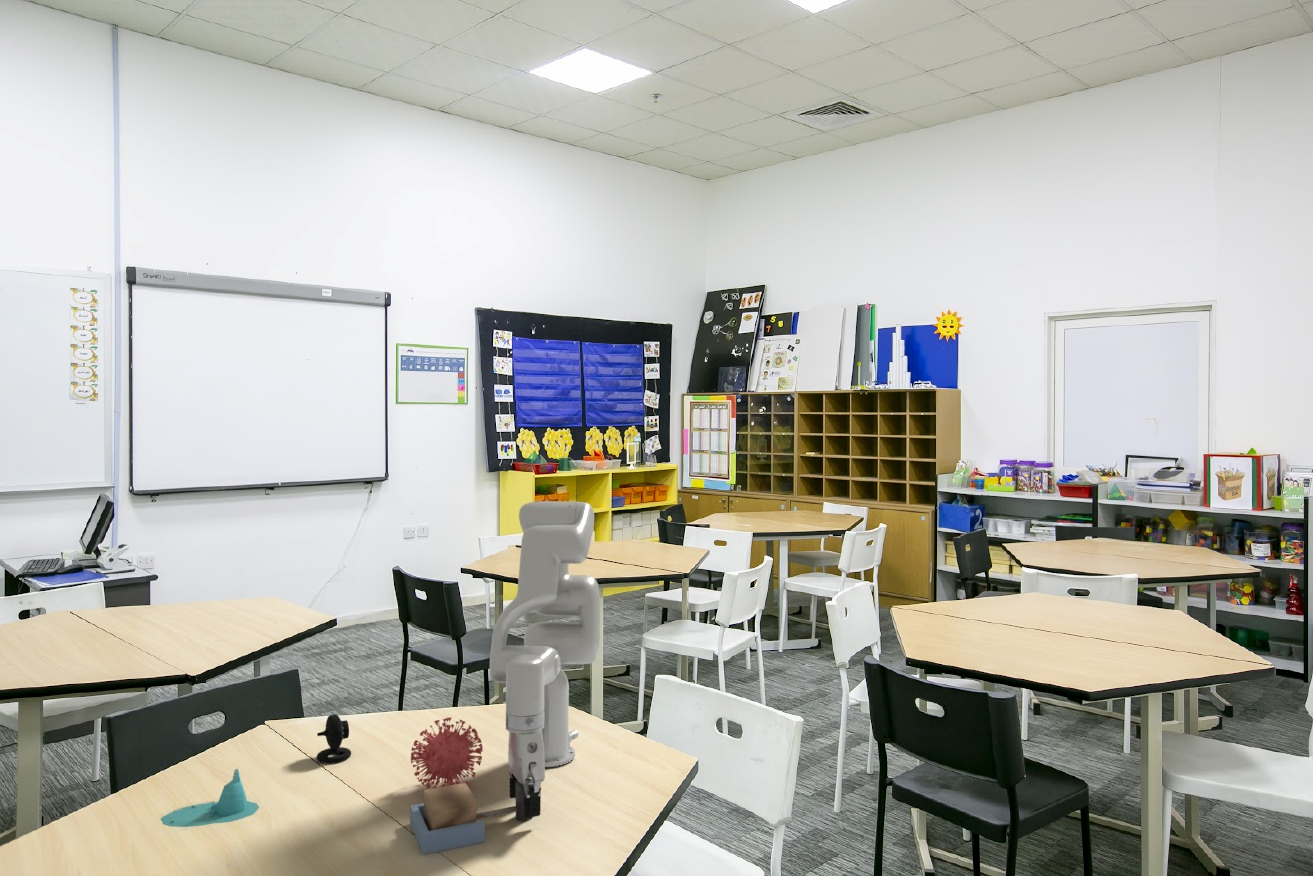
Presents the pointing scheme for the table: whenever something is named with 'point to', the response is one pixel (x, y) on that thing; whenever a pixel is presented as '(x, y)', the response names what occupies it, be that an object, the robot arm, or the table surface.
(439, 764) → the virus model
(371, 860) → the table surface
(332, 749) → the webcam
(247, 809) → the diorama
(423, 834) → the blue-grey u-shaped piece
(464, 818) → the tether block
